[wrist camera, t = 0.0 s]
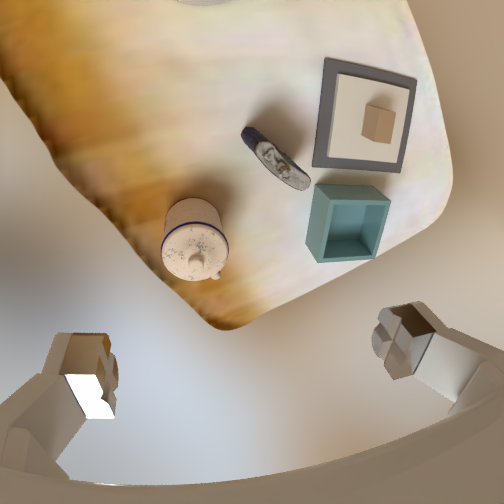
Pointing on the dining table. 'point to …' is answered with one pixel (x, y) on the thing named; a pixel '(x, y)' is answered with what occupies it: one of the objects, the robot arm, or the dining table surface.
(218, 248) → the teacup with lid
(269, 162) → the flask
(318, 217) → the teal open box
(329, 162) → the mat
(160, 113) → the dining table surface
